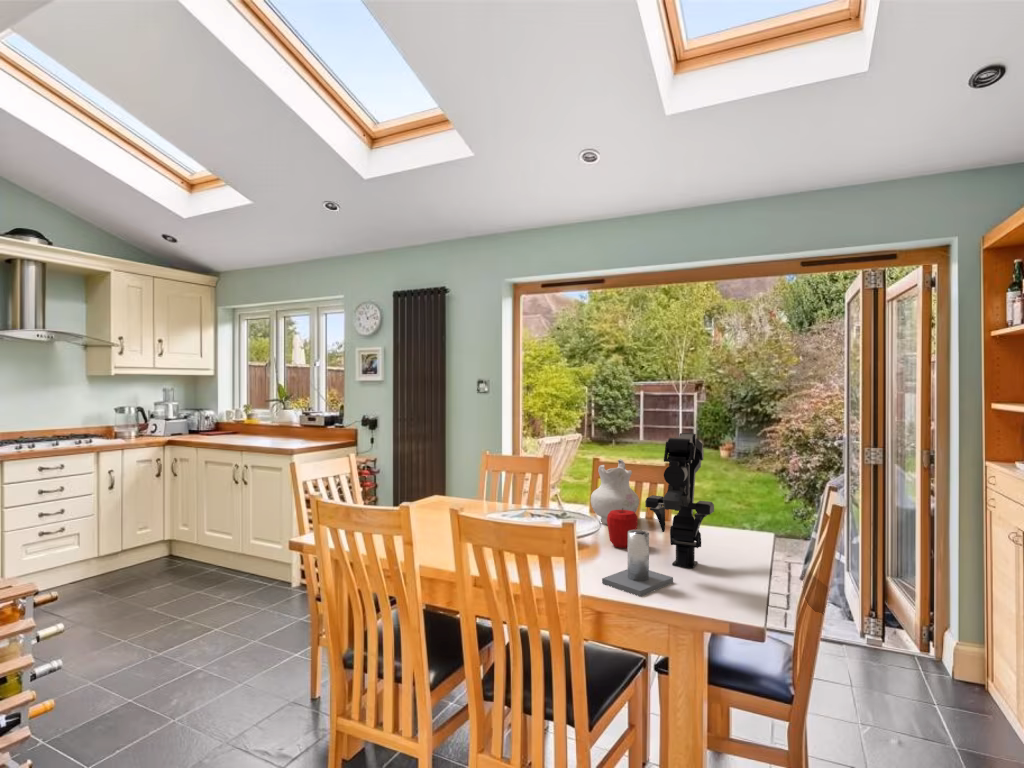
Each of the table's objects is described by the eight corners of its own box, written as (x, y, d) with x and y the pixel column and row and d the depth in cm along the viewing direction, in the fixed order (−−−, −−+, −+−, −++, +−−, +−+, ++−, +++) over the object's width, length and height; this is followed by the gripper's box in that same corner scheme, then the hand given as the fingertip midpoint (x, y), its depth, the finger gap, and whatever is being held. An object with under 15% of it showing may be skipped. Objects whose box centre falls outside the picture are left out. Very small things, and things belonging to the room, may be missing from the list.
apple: (635, 542, 203) (635, 504, 203) (639, 551, 193) (639, 511, 193) (605, 541, 204) (606, 503, 204) (607, 550, 194) (608, 510, 194)
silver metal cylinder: (641, 573, 166) (642, 528, 166) (652, 580, 161) (653, 533, 161) (623, 575, 164) (623, 530, 164) (634, 582, 159) (634, 535, 159)
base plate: (635, 571, 173) (635, 566, 173) (673, 582, 163) (673, 577, 163) (602, 583, 162) (602, 578, 162) (640, 596, 152) (640, 591, 152)
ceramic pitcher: (596, 516, 247) (591, 459, 247) (641, 515, 241) (637, 457, 242) (589, 529, 226) (585, 466, 226) (639, 528, 221) (634, 465, 221)
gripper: (639, 481, 164) (638, 535, 164) (705, 488, 154) (704, 545, 154) (651, 476, 174) (651, 527, 174) (714, 482, 164) (714, 536, 164)
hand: (678, 534), depth 166 cm, fingers open, 9 cm apart
